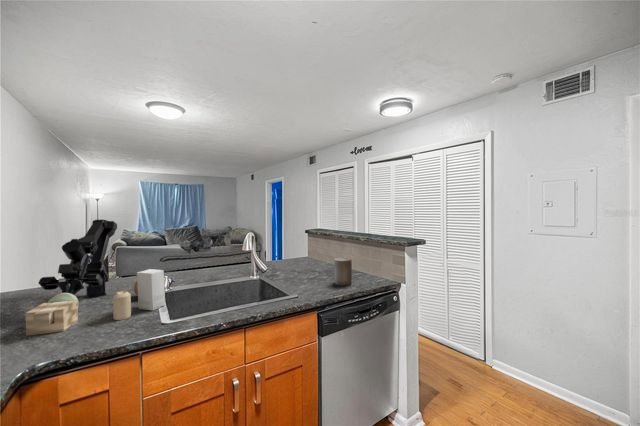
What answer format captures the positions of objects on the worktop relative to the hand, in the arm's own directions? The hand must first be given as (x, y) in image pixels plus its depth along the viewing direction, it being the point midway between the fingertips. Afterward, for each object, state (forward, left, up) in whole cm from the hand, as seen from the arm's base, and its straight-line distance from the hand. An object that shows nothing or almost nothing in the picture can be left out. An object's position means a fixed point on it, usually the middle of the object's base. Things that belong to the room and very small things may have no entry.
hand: (64, 301), depth 105 cm
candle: (-15, +15, -7) cm, 22 cm away
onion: (-29, -4, -7) cm, 30 cm away
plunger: (+4, +6, -6) cm, 9 cm away
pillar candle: (-109, +51, -7) cm, 120 cm away
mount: (+4, +7, -7) cm, 10 cm away
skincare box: (-26, +12, -7) cm, 29 cm away
